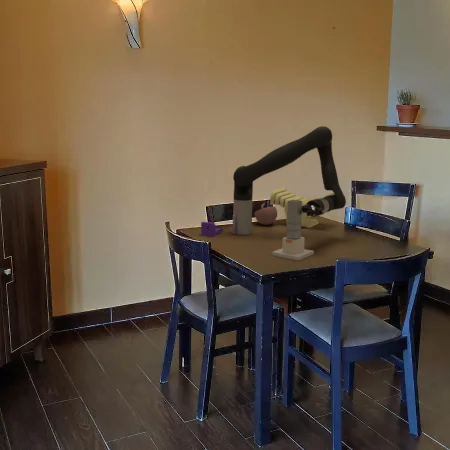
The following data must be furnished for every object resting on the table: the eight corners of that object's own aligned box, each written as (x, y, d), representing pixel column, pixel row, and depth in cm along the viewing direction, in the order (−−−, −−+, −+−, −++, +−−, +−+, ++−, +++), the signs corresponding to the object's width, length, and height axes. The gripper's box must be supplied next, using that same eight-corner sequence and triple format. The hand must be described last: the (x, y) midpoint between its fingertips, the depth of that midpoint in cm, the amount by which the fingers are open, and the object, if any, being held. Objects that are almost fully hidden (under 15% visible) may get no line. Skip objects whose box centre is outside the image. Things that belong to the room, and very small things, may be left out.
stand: (298, 260, 240) (298, 243, 238) (272, 255, 247) (272, 238, 246) (313, 254, 250) (314, 237, 248) (288, 249, 257) (288, 232, 256)
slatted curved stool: (269, 224, 308) (270, 191, 304) (282, 218, 322) (283, 187, 318) (322, 230, 293) (323, 196, 289) (333, 225, 306) (335, 192, 303)
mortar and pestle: (267, 221, 315) (267, 200, 312) (281, 225, 306) (282, 204, 303) (249, 224, 308) (250, 202, 306) (264, 228, 299) (264, 206, 296)
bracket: (214, 237, 280) (214, 223, 278) (201, 236, 282) (201, 222, 281) (222, 232, 291) (222, 218, 289) (210, 231, 293) (210, 217, 292)
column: (294, 253, 245) (296, 202, 240) (285, 251, 248) (287, 200, 243) (300, 250, 249) (302, 200, 244) (291, 249, 251) (293, 199, 247)
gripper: (304, 197, 263) (285, 202, 251) (332, 200, 255) (314, 205, 242) (303, 213, 265) (284, 218, 253) (331, 217, 257) (313, 223, 244)
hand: (299, 212), depth 247 cm, fingers open, 8 cm apart
